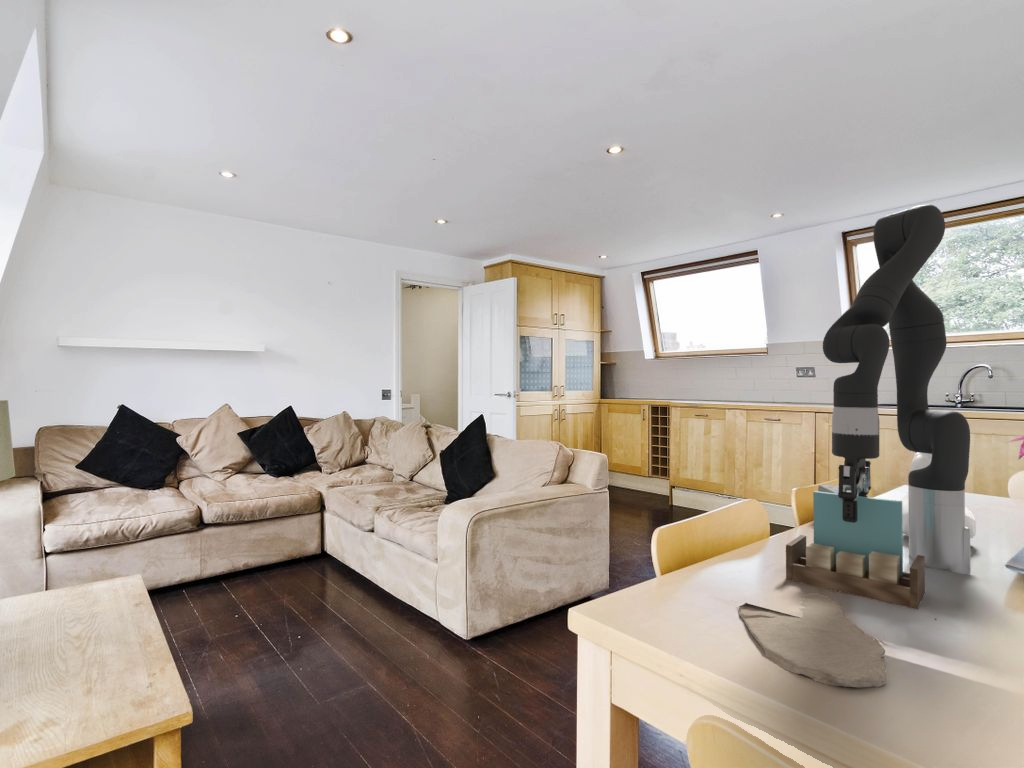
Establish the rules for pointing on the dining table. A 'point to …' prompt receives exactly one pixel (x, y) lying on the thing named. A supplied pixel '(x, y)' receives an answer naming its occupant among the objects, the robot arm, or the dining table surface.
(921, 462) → the decorative rooster
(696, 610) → the dining table surface
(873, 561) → the offcut
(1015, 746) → the dining table surface
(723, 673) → the dining table surface
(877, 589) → the walnut rack
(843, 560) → the block
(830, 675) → the stone tablet
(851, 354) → the robot arm
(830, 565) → the offcut
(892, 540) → the teal sheet
